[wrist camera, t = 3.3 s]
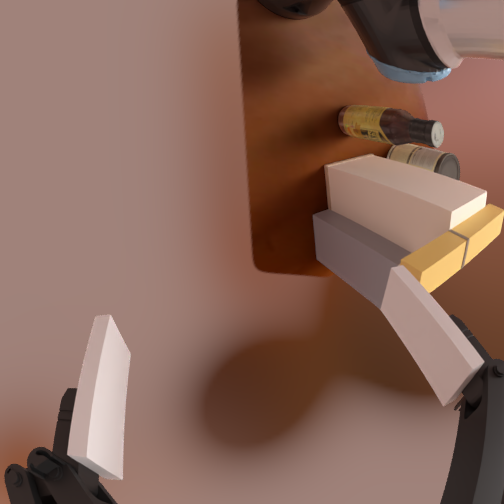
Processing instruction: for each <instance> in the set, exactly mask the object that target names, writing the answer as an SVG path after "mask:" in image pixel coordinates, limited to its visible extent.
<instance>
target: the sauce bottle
mask: <svg viewBox="0 0 504 504" xmlns="http://www.w3.org/2000/svg"><path fill="white" fill-rule="evenodd" d="M338 124H339V127H340V129H341V130H342V131H343V132H344V133H345V134H346V135H348V136H351V137H355V138H361V139H367V140H372V141H377V142H382V143H387V144H392V145H396V146H398V145H403V144H407V143H412V142H416V143H423V144H427V145H428V146H430V147H436V148H437V147H439V146H440V145H441V143H442V142H443V137H444V131H443V127H442V124H441V123H440V122H438V121H434V120H429V121H427V120H421V119H419V118H414V117H413V116H412V115H411V114H410V113H408V112H407V111H405V110H401V109H392V108H388V107H376V106H363V105H351V106H346V107H344V108H343V109H342V110H341V111H340V113H339V117H338Z"/></svg>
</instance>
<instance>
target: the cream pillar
mask: <svg viewBox="0 0 504 504" xmlns="http://www.w3.org/2000/svg"><path fill="white" fill-rule="evenodd" d="M324 169H325V179H326V190H327V201H328V209H329V210H332V211H334V212H336V213H338V214H340V215H342V216H344V217H346V218H348V219H350V220H352V221H354V222H356V223H358V224H360V225H362V226H364V227H365V228H367V229H369V230H371V231H373V232H375V233H377V234H379V235H380V236H382V237H384V238H386V239H388V240H390V241H391V242H393V243H395V244H397V245H399V246H400V247H402V248H404V249H406V250H407V251H409V252H411V253H413V252H415V251H416V250H418V249H420V248H421V247H423V246H425V245H426V244H428V243H430V242H431V241H433V240H434V239H436V238H438V237H439V236H441V235H443V234H444V233H446V232H447V231H448V230H450V229H452V228H454V227H455V226H457V225H458V224H460V223H461V222H463V221H465V220H466V219H468V218H469V217H471V216H472V215H474V214H475V213H477V212H478V211H480V210H481V209H483V208H484V207H485V204H486V196H487V191H485V190H482V189H480V188H477V187H475V186H472V185H469V184H467V183H463V182H461V181H458V180H455V179H452V178H450V177H447V176H444V175H441V174H438V173H434V172H431V171H428V170H425V169H422V168H418V167H415V166H412V165H408V164H405V163H401V162H397V161H394V160H390V159H386V158H382V157H378V156H374V154H367V155H362V156H358V157H354V158H350V159H346V160H342V161H338V162H334V163H330V164H326V165H324Z"/></svg>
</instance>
